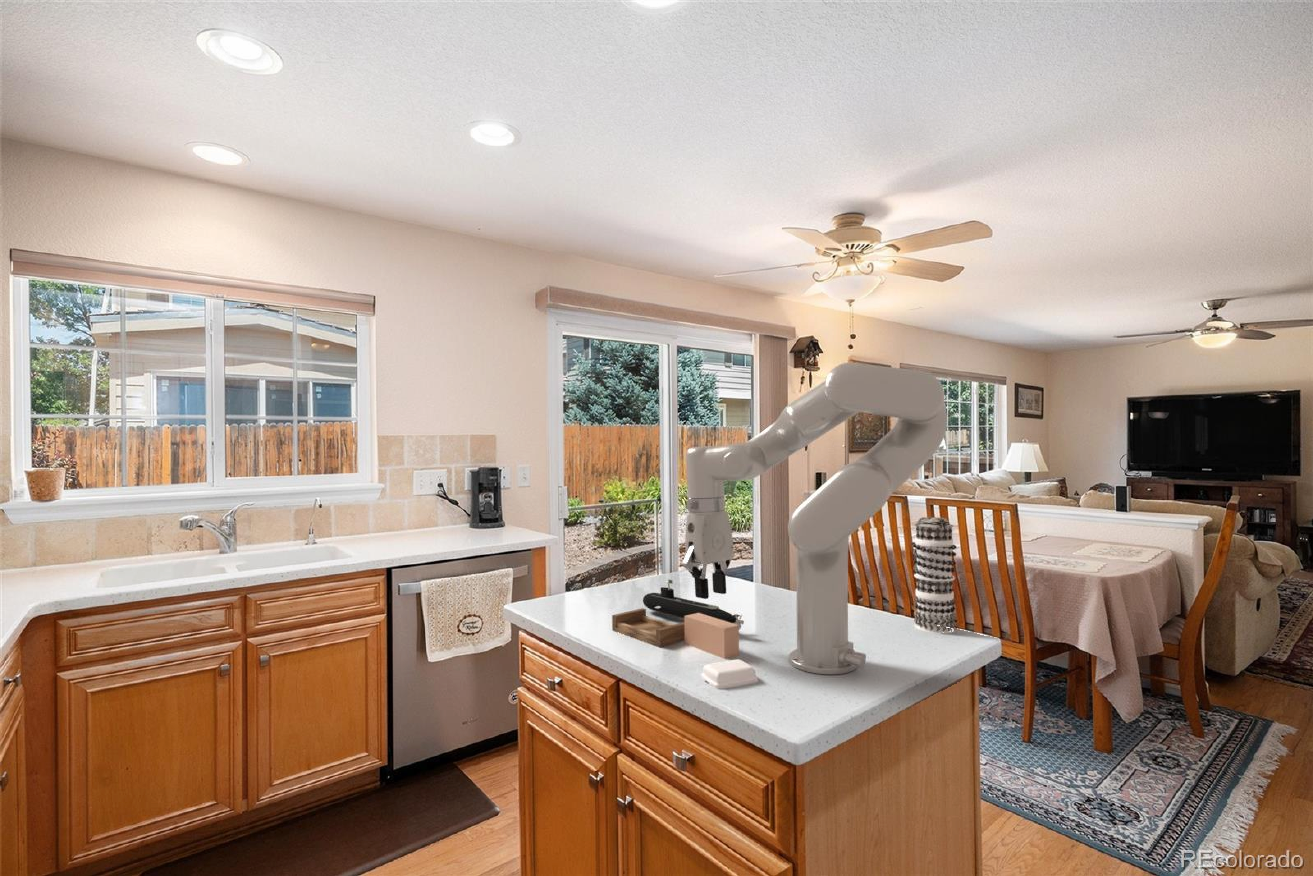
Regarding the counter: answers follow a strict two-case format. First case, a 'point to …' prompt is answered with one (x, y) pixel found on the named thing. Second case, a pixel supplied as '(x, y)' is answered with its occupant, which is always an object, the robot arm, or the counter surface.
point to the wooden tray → (648, 628)
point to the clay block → (712, 635)
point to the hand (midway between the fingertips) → (711, 594)
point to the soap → (729, 674)
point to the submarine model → (685, 606)
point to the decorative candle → (934, 575)
